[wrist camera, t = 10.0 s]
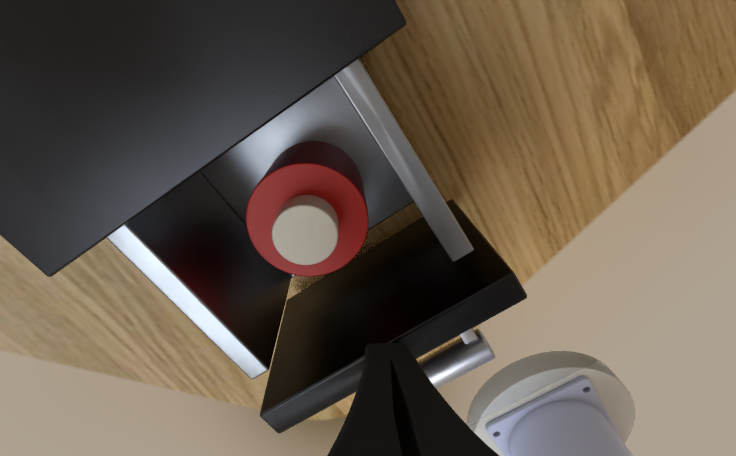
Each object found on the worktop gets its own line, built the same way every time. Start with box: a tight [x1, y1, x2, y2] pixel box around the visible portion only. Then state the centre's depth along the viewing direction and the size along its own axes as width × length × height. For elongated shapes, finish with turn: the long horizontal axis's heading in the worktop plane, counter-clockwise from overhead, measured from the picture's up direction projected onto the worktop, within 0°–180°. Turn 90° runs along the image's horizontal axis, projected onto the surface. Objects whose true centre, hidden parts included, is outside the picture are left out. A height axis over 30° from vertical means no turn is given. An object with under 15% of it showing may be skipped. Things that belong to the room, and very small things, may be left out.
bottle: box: [246, 141, 369, 276], centre depth 16 cm, size 4×4×6 cm
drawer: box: [106, 59, 527, 433], centre depth 16 cm, size 17×10×8 cm, turn 33°
